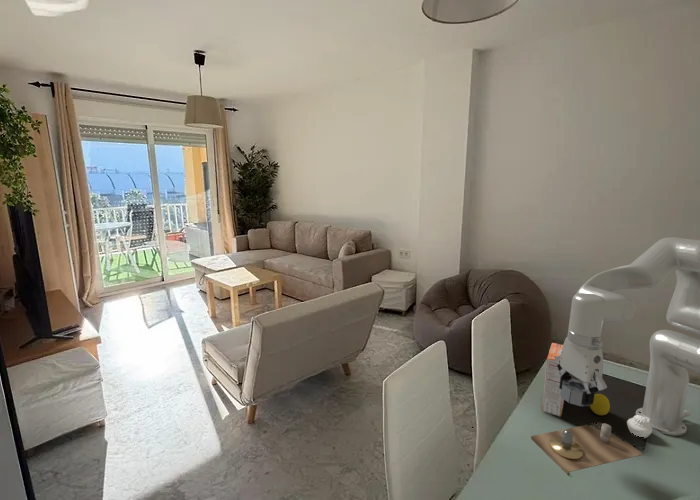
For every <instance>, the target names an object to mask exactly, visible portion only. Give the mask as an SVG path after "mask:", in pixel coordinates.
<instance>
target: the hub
mask: <svg viewBox="0 0 700 500" xmlns="http://www.w3.org/2000/svg"><path fill="white" fill-rule="evenodd" d="M563 430H564V429H563ZM550 447H551V449H552V450H553V451H554V452H555V453H556V454H557V455H559V456H561V457H563V458H566V459H569V460H579V459H581V458H582V457H583V450H582V448H581V447H580V445H578V444H577V443H576V442H574V441H573V434H572V432H571V431H569V430H564V431H563V433H562V437H560V436H557V437H553V438H551V439H550Z"/></svg>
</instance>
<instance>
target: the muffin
mask: <svg viewBox="0 0 700 500" xmlns="http://www.w3.org/2000/svg"><path fill="white" fill-rule="evenodd" d="M626 425H627V428H628V430H629V432H630V433H631V434H632V433H633V434H634V435H633V434H632V435H633V436H635V435H636V436H635V437H637V436H639V437H644V438H643V439H647V438H648V437H650V435H651V434H652V433H653V427H651V426H650V425H649V423H648V420H647V419H646V418H645V417H643V416H641V415H636V414H635V415H634V416H633V417H630V418H628V420H626ZM639 437H638V438H639Z"/></svg>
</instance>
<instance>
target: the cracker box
mask: <svg viewBox="0 0 700 500" xmlns="http://www.w3.org/2000/svg"><path fill="white" fill-rule="evenodd" d="M562 348H563V344H560V343H555V342H552V343H551V345H550V348H549V352H548V354H547V358H546V365H545V366H546V367H545V379H544V387H543V400H542V412H543V413H544V412H546V413H547V414H550V415H554V416H556V417H560V418H562V414H563V409H564V403H565V400H564V399H563V398H562V397H561V389H560V388H559V386H560V379H561V376H560V375H559V372H560V371H559V369H558V367H557V363H556V361H555V357H557V356H560V355H561V352H562Z"/></svg>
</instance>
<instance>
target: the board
mask: <svg viewBox="0 0 700 500" xmlns="http://www.w3.org/2000/svg"><path fill="white" fill-rule="evenodd" d="M593 423H594V424H595V423H597V425H598V424H599V423H600V425H602V426H601V430H598V429H596V428H595V427H594V426H593V427H592V426H591V425H590V426H587V425H588V424H584V425H580V426H579V425H578V426H575V427H570V428H564V429H558V430H554V431H550V432H549V431H548V432H544V433H540V434H539V433H538V434H535V435H531V437H530V440H531V441H532V442H533V443H535V444H536V445H537V446H538V447H539V448H540V449H541V450H542V451H543V452H544V453H545V454H546V455H547V457H549V459H551V460H552V461H553V462H554V463H555V464H556V465H557V466H558V467H559V468H560V469H561V470H562V471H563V472H564V473H565V474H567V475H568V476H569V475H571V473H570V472H575V471H578V470H583V469H588V468H591V467H595V466H596V467H597V466H600V465H603V464H608V463H609V464H610V463H613V462H617V461H621V460H625V459H629V458H630V459H631V458H635V457H638V456H642V455H644V453H643V452H642V451H640V450H639V449H637V448H636V447H634V446H633V445H632V444H630V442H628V441H626V440H625V441H626V442H625V441H622V440H621V439H619V438H617V437H616V436H615V435H613V434H611V431H612V425H610V424H607V423H606V422H605V423H601V421H599V422H593ZM599 428H600V426H599ZM564 430H569V431H571V432H572V434H573V441H574V442H576V443H577V444H578V445H580V447H581V448H582V450H583V457H582V458H581V459H579V460H569V459H566V458H563V457H561V456H559V455H557V454H556V453H555V452H554V451H553V450H552V449H551V447H550V439H551V438H553V437H557V436H560V437H562V433H563V431H564ZM627 442H628V443H627Z"/></svg>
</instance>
